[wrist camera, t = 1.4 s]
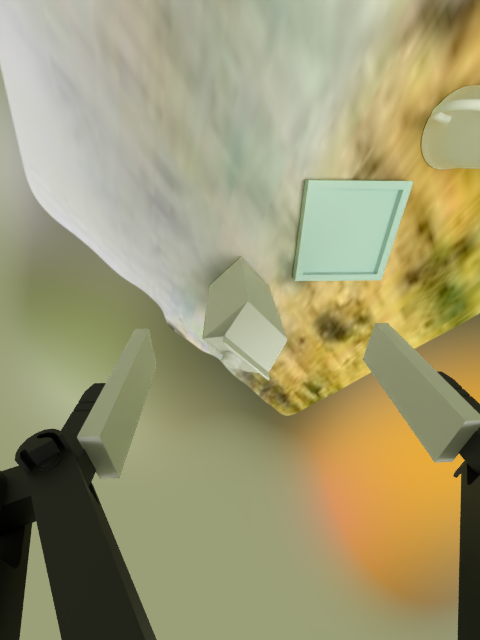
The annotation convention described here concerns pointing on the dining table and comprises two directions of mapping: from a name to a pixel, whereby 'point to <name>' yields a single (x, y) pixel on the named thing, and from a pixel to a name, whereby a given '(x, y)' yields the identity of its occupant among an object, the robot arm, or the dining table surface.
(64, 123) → the dining table surface
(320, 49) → the dining table surface
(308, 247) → the tray
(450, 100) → the mug
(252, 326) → the milk carton
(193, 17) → the dining table surface
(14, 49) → the dining table surface
